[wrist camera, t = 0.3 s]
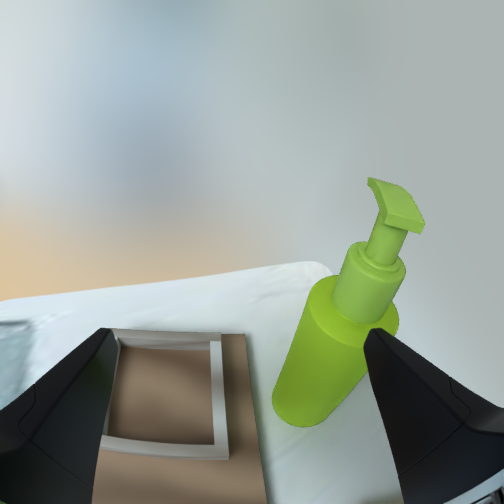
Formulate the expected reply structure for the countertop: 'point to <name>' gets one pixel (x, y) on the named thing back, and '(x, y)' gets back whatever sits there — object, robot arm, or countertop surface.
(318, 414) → the soap dispenser
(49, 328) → the countertop surface
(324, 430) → the countertop surface
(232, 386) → the walnut holder board
